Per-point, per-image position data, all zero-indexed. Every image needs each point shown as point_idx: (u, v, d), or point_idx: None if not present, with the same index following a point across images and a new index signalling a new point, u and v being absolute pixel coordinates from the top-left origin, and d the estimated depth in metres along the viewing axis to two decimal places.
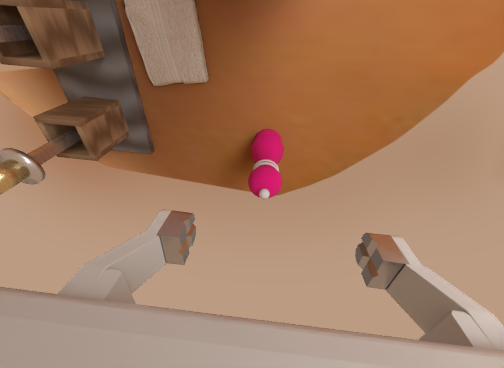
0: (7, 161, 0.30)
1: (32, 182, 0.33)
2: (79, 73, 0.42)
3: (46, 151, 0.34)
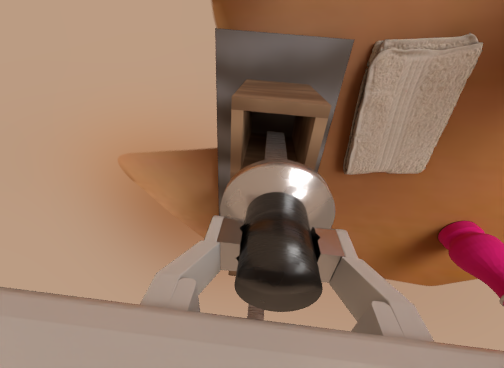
0: None
1: None
2: None
3: None
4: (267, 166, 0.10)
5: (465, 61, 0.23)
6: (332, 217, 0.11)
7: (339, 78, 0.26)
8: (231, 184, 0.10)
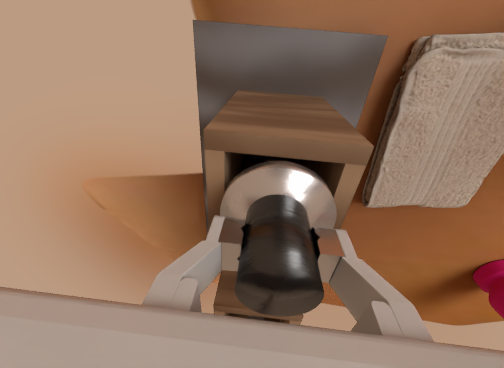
0: None
1: None
2: None
3: None
4: (268, 169, 0.09)
5: None
6: (333, 219, 0.11)
7: (364, 89, 0.19)
8: (231, 186, 0.10)
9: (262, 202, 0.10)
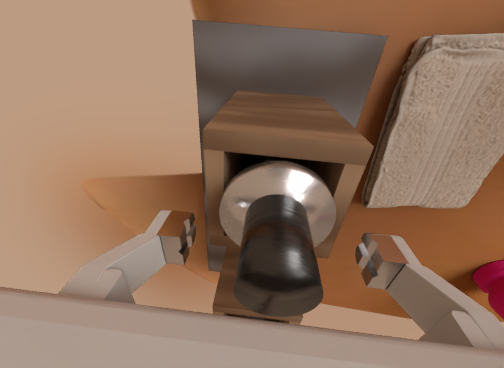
0: None
1: None
2: None
3: None
4: (267, 168, 0.09)
5: None
6: (333, 219, 0.11)
7: (363, 89, 0.19)
8: (230, 186, 0.10)
9: (261, 202, 0.10)
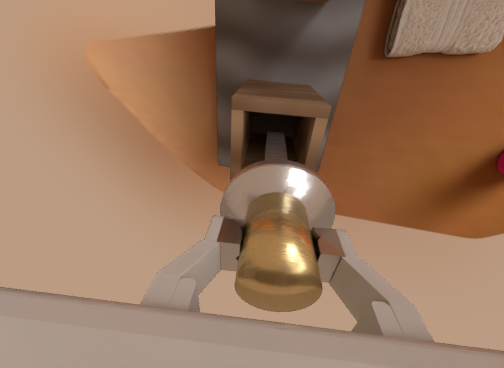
0: (280, 199, 0.10)
1: None
2: (260, 36, 0.24)
3: None
4: None
5: None
6: None
7: None
8: None
9: None
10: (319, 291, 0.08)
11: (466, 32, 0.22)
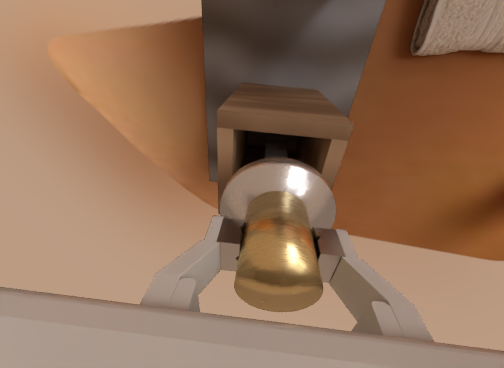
0: (281, 197, 0.10)
1: None
2: (258, 30, 0.20)
3: None
4: None
5: None
6: None
7: None
8: None
9: None
10: (319, 291, 0.07)
11: None
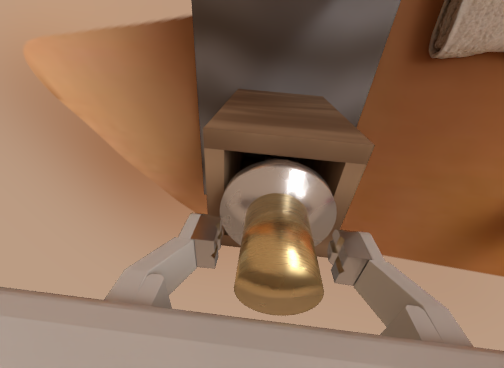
0: (281, 200, 0.10)
1: None
2: (256, 29, 0.17)
3: None
4: None
5: None
6: None
7: None
8: None
9: None
10: (320, 295, 0.07)
11: None
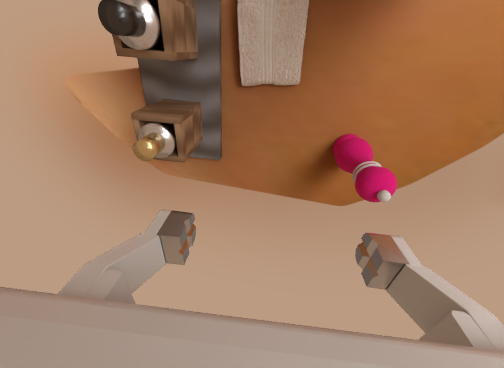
0: (152, 133, 0.34)
1: (162, 156, 0.36)
2: (166, 74, 0.41)
3: (170, 130, 0.38)
4: None
5: None
6: (155, 19, 0.26)
7: None
8: None
9: None
10: (152, 151, 0.32)
11: (278, 74, 0.39)
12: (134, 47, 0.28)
